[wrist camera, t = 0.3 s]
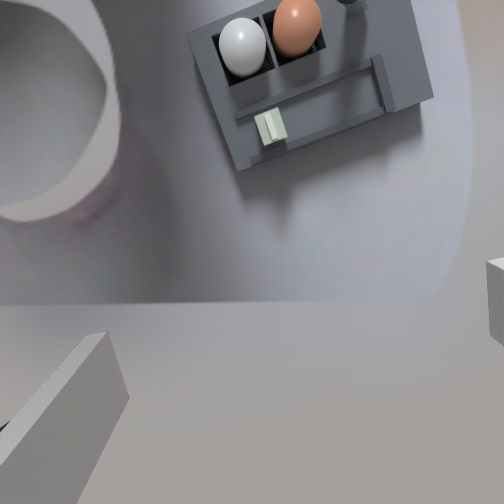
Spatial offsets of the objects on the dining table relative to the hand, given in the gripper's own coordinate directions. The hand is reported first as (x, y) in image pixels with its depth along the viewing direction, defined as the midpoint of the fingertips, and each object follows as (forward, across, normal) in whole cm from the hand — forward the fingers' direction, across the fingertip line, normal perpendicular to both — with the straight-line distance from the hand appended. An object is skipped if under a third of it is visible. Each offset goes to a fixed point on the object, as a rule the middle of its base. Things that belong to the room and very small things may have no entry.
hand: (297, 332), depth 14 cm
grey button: (+25, 0, +14) cm, 29 cm away
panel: (+27, +6, +12) cm, 30 cm away
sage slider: (+24, +1, +8) cm, 25 cm away
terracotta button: (+25, +5, +15) cm, 30 cm away
